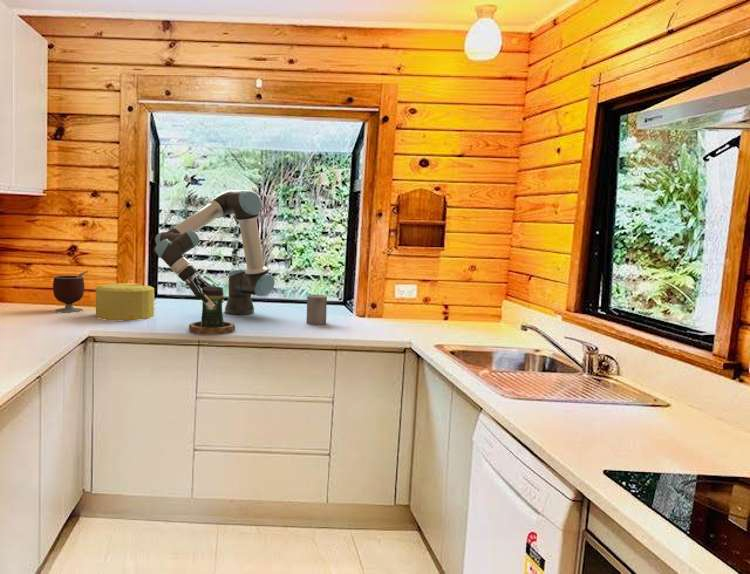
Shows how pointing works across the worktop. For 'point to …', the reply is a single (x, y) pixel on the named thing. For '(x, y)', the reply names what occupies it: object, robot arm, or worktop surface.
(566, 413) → the worktop surface
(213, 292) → the coffee jar
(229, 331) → the tray
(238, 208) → the robot arm
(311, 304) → the pillar candle
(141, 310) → the cheese
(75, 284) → the mate gourd
